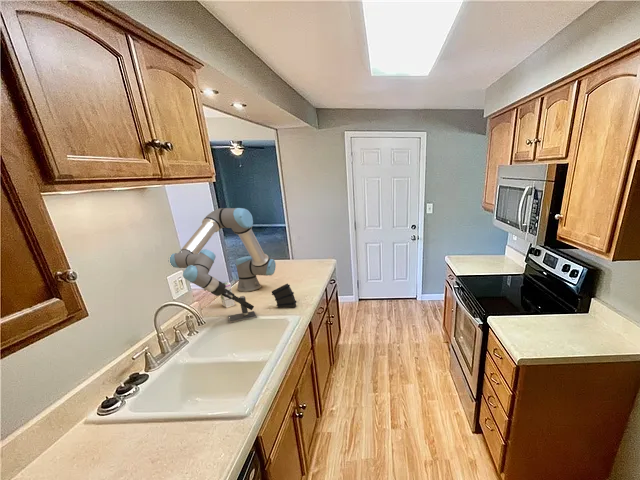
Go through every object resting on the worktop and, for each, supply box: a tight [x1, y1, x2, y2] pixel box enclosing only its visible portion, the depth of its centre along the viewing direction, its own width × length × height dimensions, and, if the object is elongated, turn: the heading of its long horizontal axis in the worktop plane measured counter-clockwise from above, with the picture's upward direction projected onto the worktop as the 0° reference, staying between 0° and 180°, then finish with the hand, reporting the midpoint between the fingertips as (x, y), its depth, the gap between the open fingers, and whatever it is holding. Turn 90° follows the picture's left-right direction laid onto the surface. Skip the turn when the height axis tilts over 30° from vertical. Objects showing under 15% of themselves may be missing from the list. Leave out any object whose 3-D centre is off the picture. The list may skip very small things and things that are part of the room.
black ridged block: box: [271, 283, 297, 309], centre depth 202 cm, size 4×13×15 cm, turn 90°
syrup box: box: [219, 281, 236, 309], centre depth 204 cm, size 6×6×14 cm
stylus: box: [238, 295, 249, 316], centre depth 187 cm, size 3×3×11 cm
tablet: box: [227, 310, 257, 324], centre depth 188 cm, size 9×14×1 cm, turn 121°
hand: (251, 307), depth 190 cm, fingers closed on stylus, 3 cm apart
